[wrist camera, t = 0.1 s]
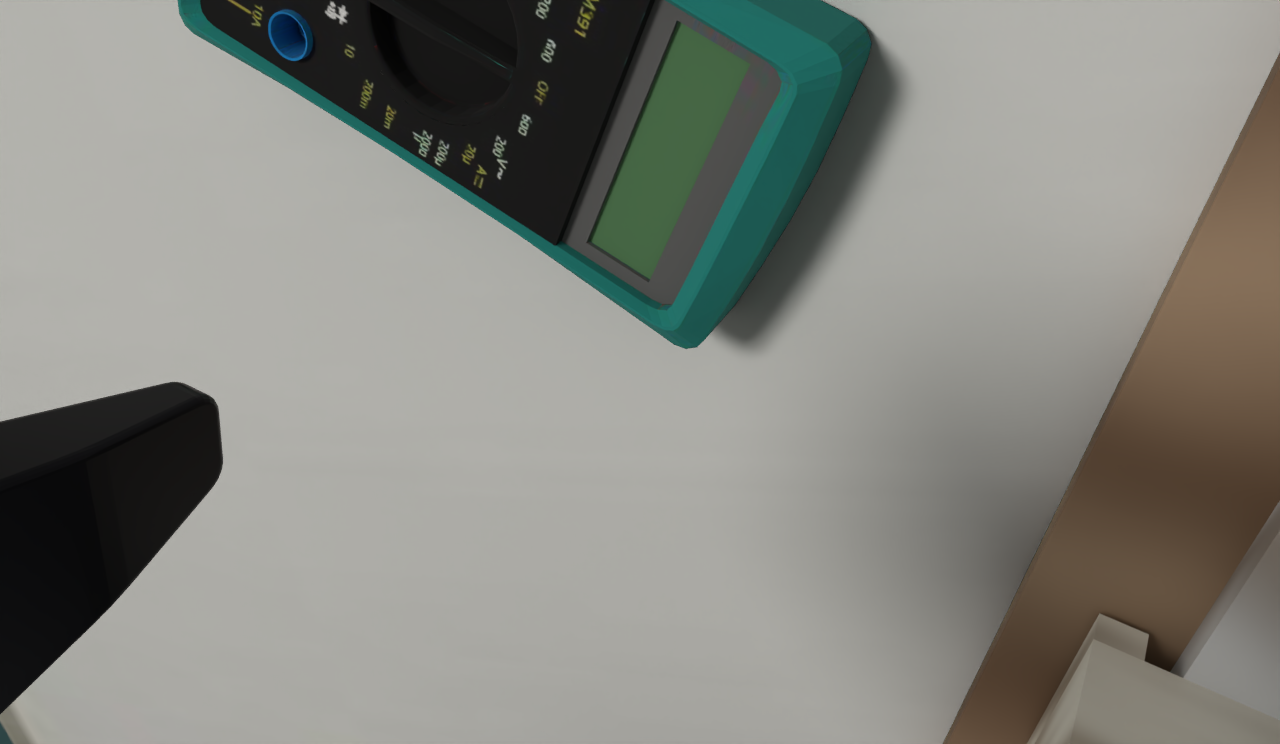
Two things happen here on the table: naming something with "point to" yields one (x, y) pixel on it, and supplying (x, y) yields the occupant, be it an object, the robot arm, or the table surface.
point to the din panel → (1167, 513)
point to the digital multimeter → (585, 121)
